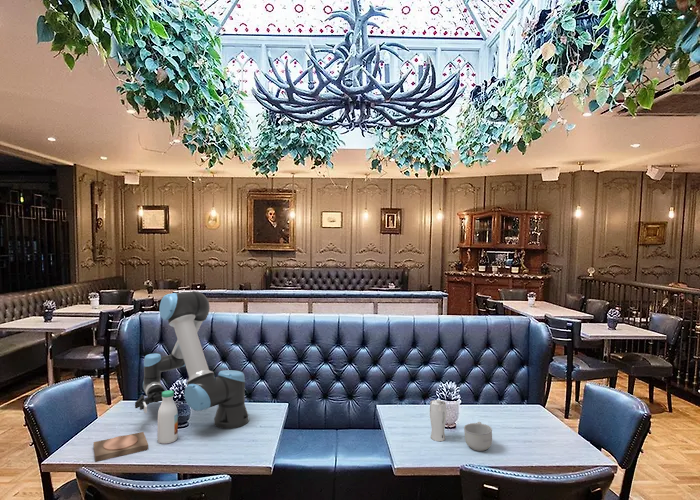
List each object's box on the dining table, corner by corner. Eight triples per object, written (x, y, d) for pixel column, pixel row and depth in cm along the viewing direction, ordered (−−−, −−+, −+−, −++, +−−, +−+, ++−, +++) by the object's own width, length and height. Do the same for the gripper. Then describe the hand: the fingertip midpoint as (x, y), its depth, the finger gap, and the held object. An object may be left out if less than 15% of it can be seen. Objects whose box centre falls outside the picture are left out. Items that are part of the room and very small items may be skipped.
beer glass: (428, 440, 177) (428, 404, 177) (431, 433, 184) (431, 398, 184) (445, 443, 175) (445, 406, 175) (447, 436, 182) (447, 400, 182)
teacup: (488, 456, 164) (488, 435, 164) (460, 449, 170) (460, 429, 170) (496, 442, 176) (496, 423, 176) (470, 436, 181) (470, 417, 181)
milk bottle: (170, 445, 172) (170, 395, 172) (153, 443, 173) (153, 394, 173) (181, 436, 180) (181, 389, 180) (165, 435, 181) (165, 388, 181)
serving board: (143, 436, 180) (143, 430, 180) (148, 449, 168) (148, 443, 168) (93, 447, 170) (93, 440, 170) (95, 461, 158) (95, 454, 158)
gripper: (182, 395, 209) (193, 409, 192) (125, 405, 196) (131, 421, 178) (183, 380, 209) (193, 393, 192) (125, 388, 196) (131, 403, 178)
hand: (163, 406), depth 185 cm, fingers open, 13 cm apart
